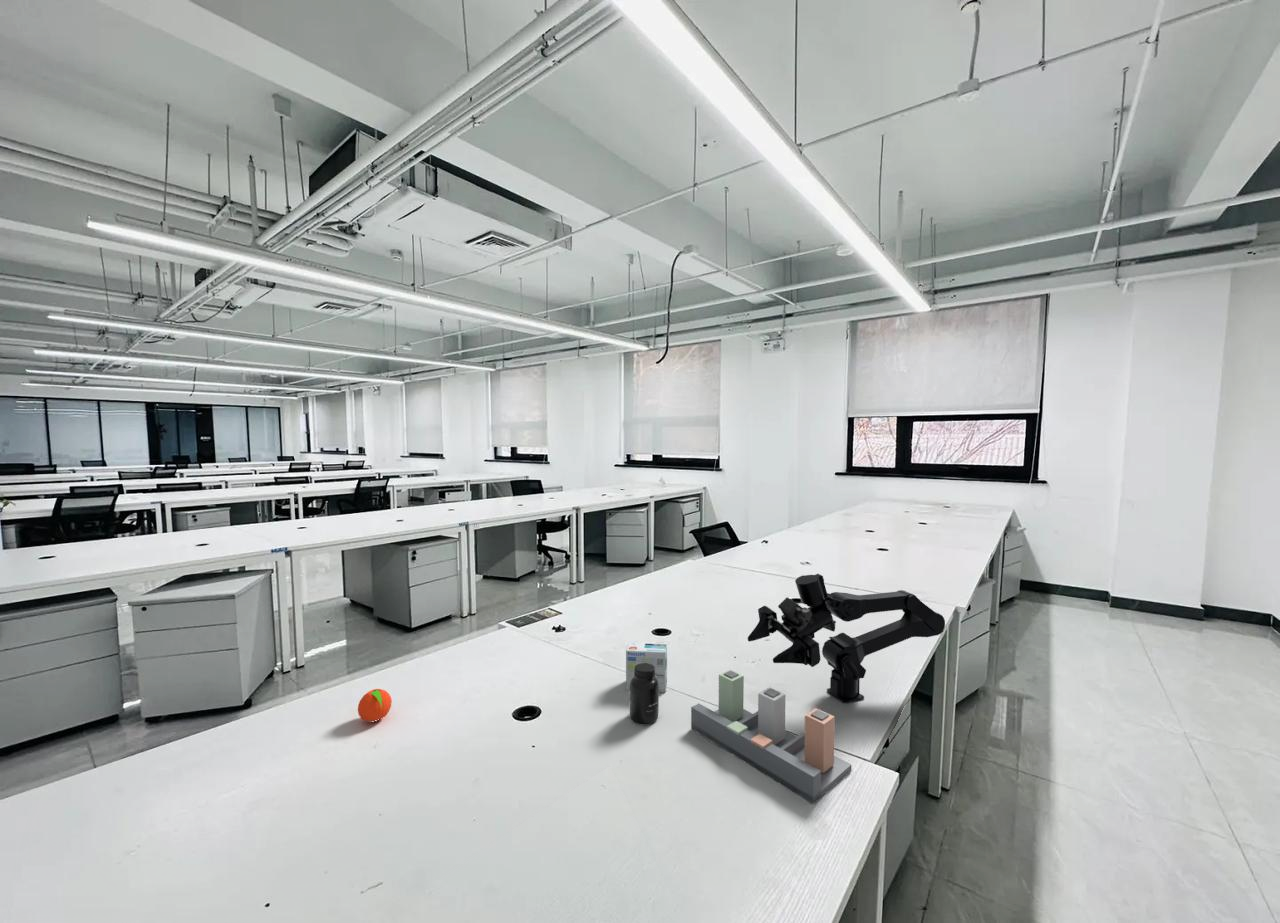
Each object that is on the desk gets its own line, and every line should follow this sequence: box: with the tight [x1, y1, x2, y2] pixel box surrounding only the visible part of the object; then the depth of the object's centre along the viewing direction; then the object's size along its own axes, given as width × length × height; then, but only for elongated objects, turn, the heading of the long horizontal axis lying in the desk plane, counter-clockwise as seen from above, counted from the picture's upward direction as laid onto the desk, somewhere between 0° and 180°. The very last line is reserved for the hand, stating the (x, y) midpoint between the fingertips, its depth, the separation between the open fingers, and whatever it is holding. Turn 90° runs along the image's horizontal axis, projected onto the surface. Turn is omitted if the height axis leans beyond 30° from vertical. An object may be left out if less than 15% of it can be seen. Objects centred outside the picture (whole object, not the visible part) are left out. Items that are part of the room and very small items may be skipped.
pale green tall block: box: [718, 669, 745, 722], centre depth 111 cm, size 4×4×10 cm
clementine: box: [357, 688, 393, 722], centre depth 112 cm, size 8×7×7 cm
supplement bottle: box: [629, 663, 660, 726], centre depth 113 cm, size 7×7×12 cm
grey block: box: [757, 686, 786, 745], centre depth 103 cm, size 4×4×10 cm
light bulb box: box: [625, 640, 668, 693], centre depth 129 cm, size 11×7×11 cm, turn 84°
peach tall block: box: [804, 707, 836, 773], centre depth 95 cm, size 4×4×10 cm
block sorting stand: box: [690, 703, 852, 805], centre depth 102 cm, size 14×30×6 cm, turn 40°
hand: (760, 649), depth 115 cm, fingers open, 9 cm apart
